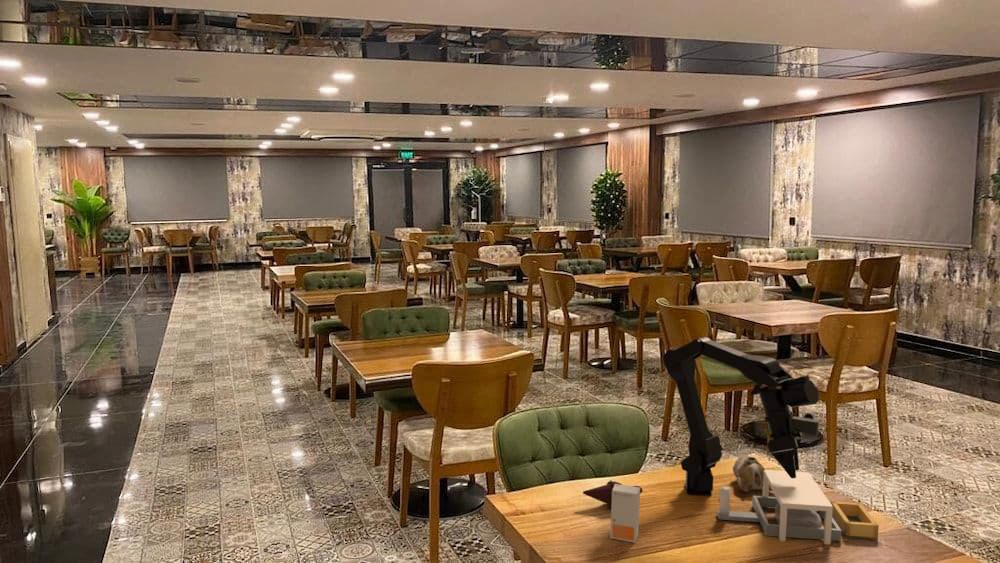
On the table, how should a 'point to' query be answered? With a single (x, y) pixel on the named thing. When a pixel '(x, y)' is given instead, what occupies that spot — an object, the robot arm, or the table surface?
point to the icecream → (604, 492)
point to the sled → (760, 517)
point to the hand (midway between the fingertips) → (795, 474)
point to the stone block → (800, 517)
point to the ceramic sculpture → (749, 473)
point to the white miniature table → (797, 497)
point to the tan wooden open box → (854, 521)
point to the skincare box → (625, 513)
